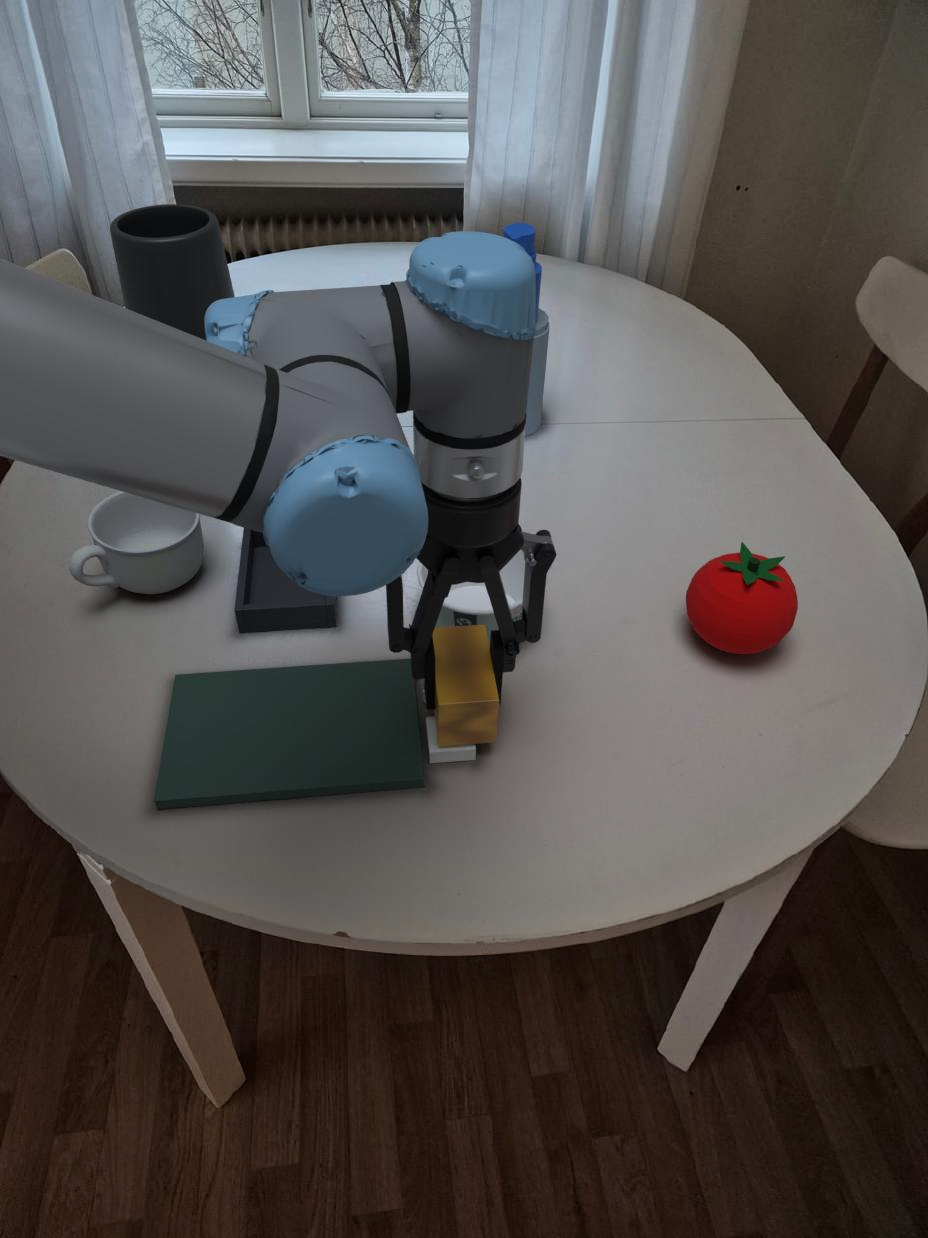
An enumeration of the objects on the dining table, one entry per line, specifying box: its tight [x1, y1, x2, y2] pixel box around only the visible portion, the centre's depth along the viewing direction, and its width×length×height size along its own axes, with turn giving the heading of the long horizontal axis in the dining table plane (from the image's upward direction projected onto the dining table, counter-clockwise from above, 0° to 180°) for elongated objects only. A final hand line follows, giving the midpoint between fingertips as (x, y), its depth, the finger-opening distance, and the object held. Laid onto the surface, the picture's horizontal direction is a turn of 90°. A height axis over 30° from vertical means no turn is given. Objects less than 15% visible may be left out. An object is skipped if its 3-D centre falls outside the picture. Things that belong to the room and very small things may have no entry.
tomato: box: [685, 541, 799, 655], centre depth 83 cm, size 10×10×10 cm
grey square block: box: [425, 715, 477, 764], centre depth 76 cm, size 4×4×2 cm
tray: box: [233, 527, 338, 634], centre depth 90 cm, size 10×14×3 cm
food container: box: [416, 550, 525, 648], centre depth 85 cm, size 12×12×6 cm
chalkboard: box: [153, 657, 425, 810], centre depth 76 cm, size 22×14×1 cm, turn 97°
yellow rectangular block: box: [432, 625, 500, 746], centre depth 75 cm, size 5×9×6 cm, turn 6°
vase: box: [109, 203, 236, 341], centre depth 97 cm, size 14×14×29 cm
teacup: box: [68, 490, 205, 595], centre depth 88 cm, size 14×11×8 cm
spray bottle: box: [502, 222, 550, 437], centre depth 107 cm, size 9×9×25 cm
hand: (462, 695), depth 76 cm, fingers closed on yellow rectangular block, 5 cm apart
